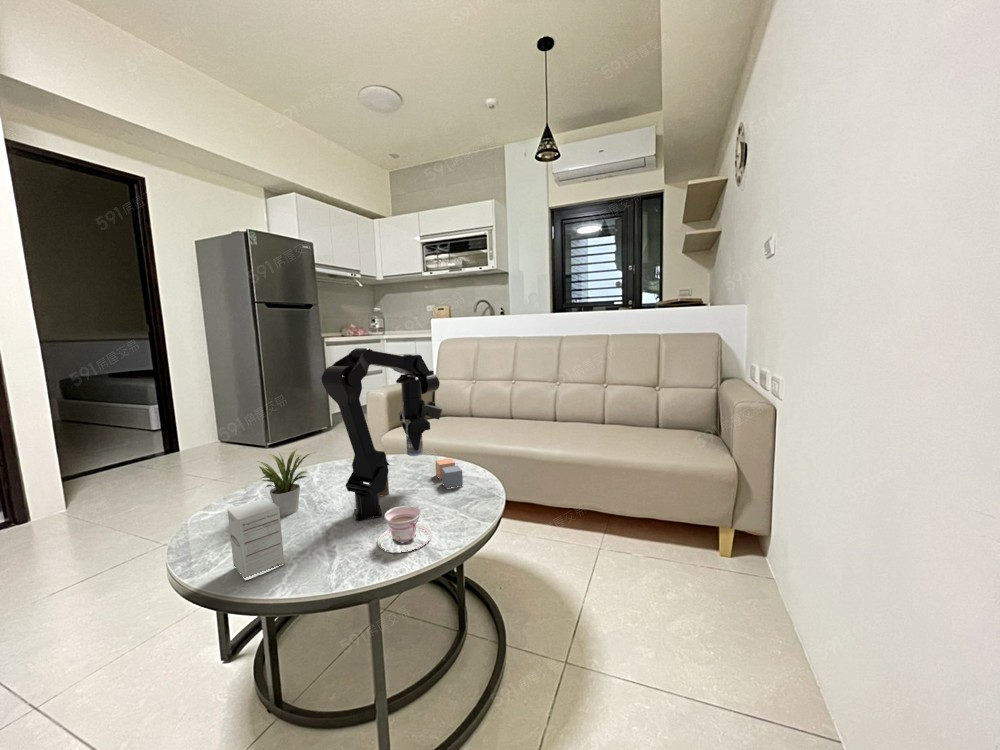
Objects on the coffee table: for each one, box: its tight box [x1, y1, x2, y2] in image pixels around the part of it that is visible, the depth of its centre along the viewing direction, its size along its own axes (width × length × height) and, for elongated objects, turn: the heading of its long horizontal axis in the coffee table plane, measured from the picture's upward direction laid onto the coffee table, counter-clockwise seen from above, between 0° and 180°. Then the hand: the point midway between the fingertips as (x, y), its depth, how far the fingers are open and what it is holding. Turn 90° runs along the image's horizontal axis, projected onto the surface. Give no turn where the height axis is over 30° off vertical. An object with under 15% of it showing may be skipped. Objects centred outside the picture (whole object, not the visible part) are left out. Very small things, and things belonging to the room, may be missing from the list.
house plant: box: [256, 448, 317, 517], centre depth 105 cm, size 14×14×16 cm
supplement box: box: [227, 497, 285, 578], centre depth 79 cm, size 7×7×13 cm
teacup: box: [377, 505, 433, 552], centre depth 88 cm, size 12×12×6 cm
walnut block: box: [368, 477, 390, 497], centre depth 115 cm, size 5×5×5 cm
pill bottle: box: [405, 433, 424, 457], centre depth 118 cm, size 5×5×8 cm
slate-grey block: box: [441, 464, 464, 490], centre depth 119 cm, size 5×5×5 cm
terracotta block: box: [435, 457, 456, 481], centre depth 126 cm, size 5×5×5 cm
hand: (414, 448), depth 118 cm, fingers closed on pill bottle, 5 cm apart
